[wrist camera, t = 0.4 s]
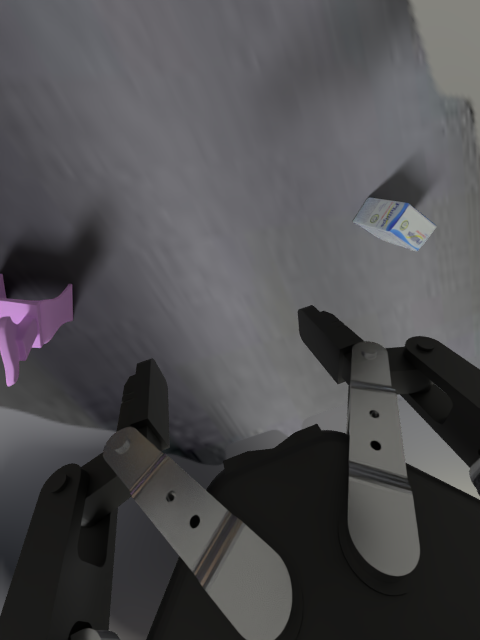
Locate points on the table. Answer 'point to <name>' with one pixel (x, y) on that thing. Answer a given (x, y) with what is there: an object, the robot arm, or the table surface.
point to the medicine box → (395, 222)
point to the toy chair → (29, 326)
